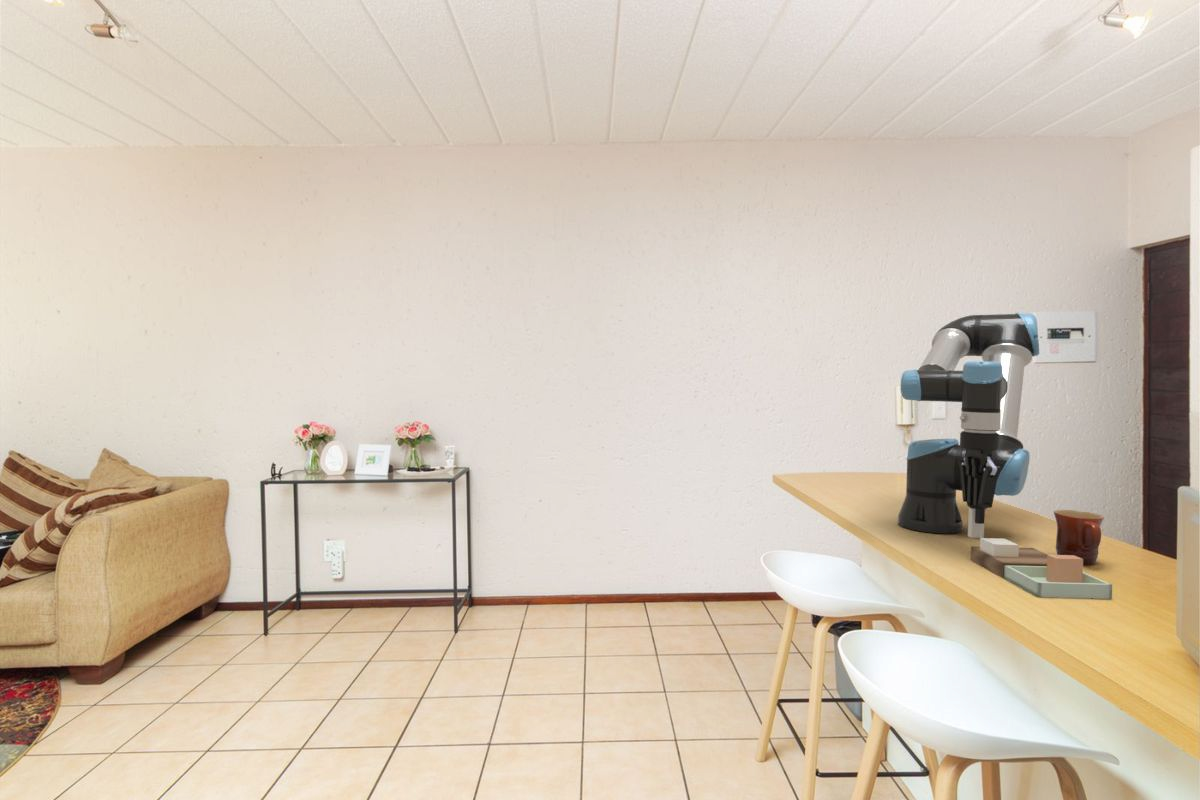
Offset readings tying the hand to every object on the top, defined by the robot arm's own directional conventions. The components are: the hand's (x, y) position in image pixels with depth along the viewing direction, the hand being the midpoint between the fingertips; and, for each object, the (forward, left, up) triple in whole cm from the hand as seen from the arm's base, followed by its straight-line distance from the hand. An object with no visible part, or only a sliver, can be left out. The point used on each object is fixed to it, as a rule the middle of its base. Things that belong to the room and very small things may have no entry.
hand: (975, 536), depth 142 cm
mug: (+4, +20, -4) cm, 21 cm away
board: (+10, +4, -4) cm, 11 cm away
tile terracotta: (+19, +6, -1) cm, 20 cm away
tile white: (+9, 0, -1) cm, 9 cm away
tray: (+21, +4, -4) cm, 22 cm away
